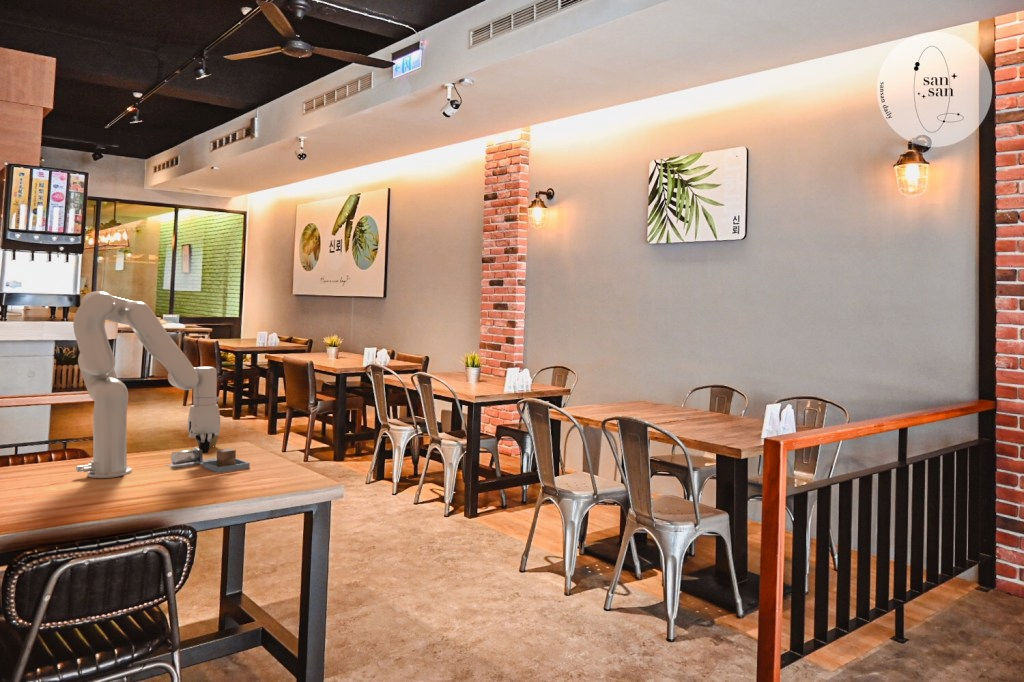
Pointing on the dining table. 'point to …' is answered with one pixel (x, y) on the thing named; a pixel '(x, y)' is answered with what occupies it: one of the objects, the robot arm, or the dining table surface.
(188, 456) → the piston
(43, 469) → the dining table surface
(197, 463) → the rail
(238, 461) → the tray
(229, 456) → the block
